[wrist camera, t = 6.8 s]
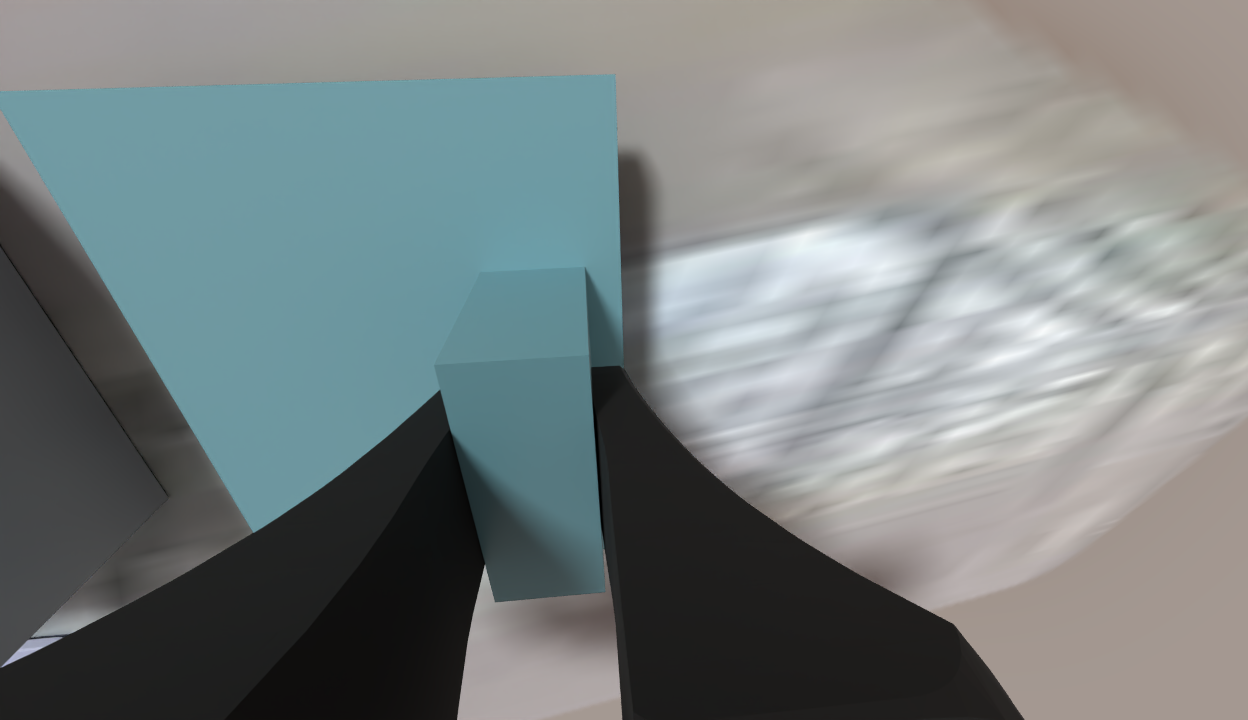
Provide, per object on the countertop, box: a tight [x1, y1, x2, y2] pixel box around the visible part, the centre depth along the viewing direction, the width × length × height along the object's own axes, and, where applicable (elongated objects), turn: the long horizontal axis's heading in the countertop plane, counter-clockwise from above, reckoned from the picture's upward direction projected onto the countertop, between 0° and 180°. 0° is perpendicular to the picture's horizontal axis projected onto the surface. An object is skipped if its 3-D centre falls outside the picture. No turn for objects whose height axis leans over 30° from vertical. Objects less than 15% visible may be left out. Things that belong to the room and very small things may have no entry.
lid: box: [0, 74, 624, 602], centre depth 10 cm, size 11×9×5 cm
